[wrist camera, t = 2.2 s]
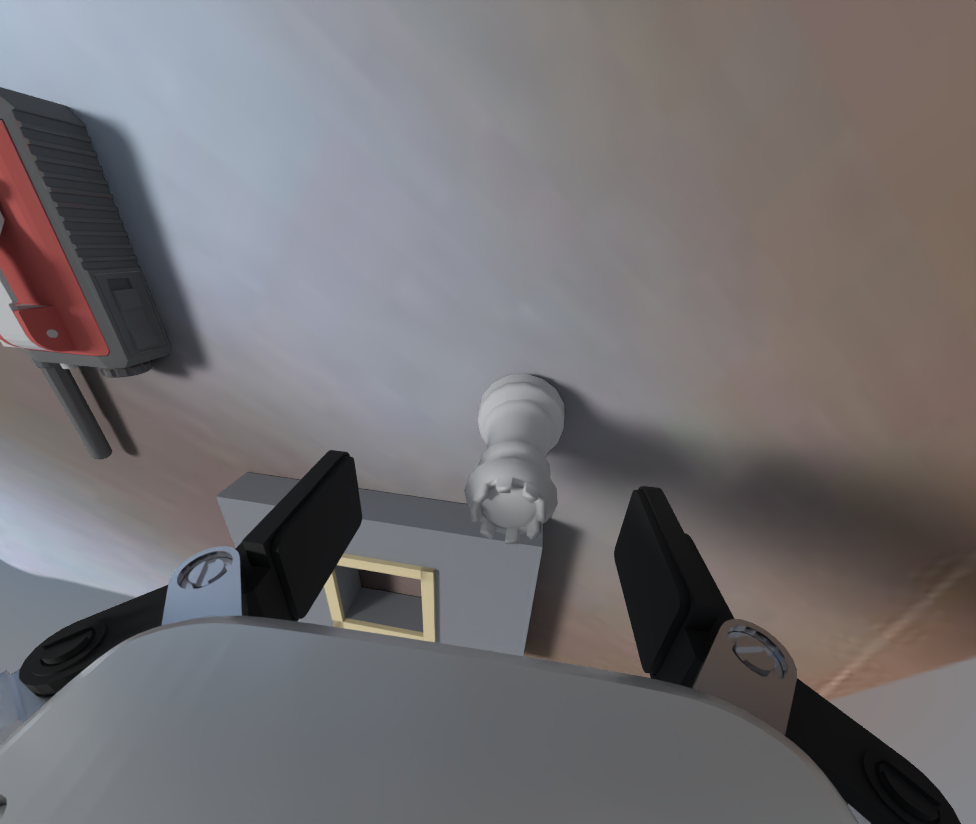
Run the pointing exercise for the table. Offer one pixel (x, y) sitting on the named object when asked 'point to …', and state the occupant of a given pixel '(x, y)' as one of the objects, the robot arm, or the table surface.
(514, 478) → the rook chess piece
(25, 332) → the red gray switch box
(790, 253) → the table surface
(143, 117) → the table surface
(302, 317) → the table surface
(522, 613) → the socket board
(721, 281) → the table surface
